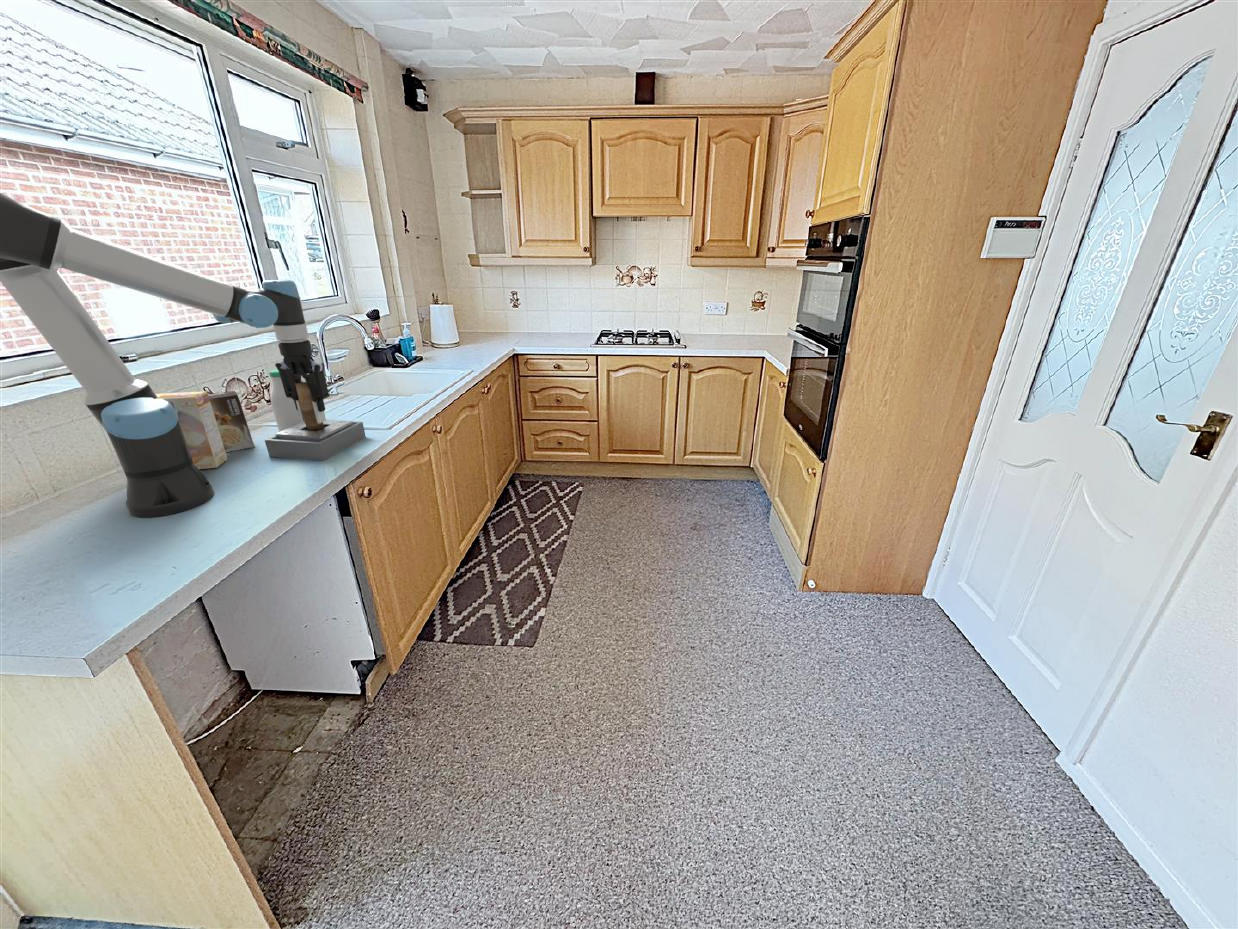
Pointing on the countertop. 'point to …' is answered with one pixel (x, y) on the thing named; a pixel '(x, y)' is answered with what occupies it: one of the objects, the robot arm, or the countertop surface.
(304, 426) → the bore block
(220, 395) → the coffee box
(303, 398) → the peg
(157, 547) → the countertop surface
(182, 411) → the coffeecake box
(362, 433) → the grey socket base
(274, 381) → the milk bottle
